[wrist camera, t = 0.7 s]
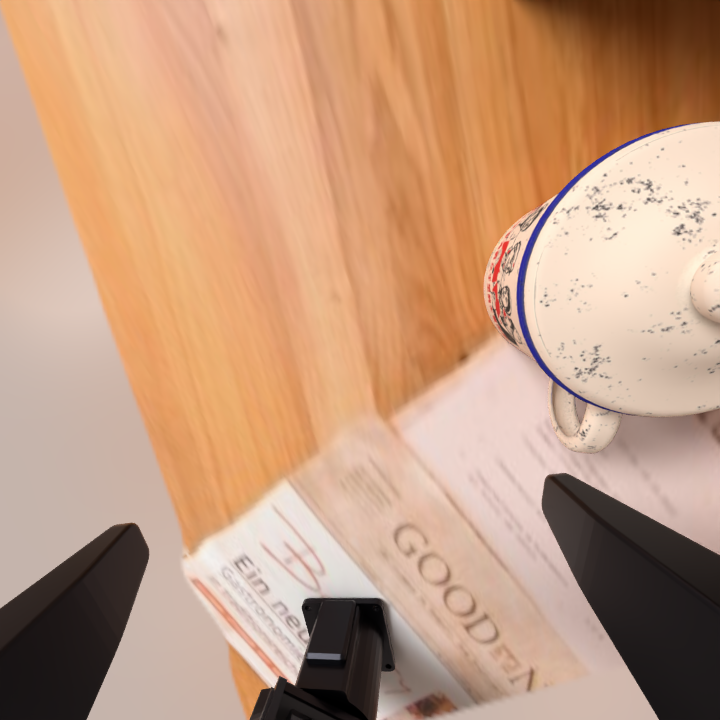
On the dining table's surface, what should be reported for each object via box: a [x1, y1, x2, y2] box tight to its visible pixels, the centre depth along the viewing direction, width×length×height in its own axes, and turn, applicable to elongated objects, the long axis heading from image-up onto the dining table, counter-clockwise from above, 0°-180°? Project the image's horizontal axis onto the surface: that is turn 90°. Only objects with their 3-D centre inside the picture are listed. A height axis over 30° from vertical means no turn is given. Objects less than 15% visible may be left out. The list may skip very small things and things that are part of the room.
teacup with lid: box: [484, 122, 720, 454], centre depth 14 cm, size 12×9×12 cm
